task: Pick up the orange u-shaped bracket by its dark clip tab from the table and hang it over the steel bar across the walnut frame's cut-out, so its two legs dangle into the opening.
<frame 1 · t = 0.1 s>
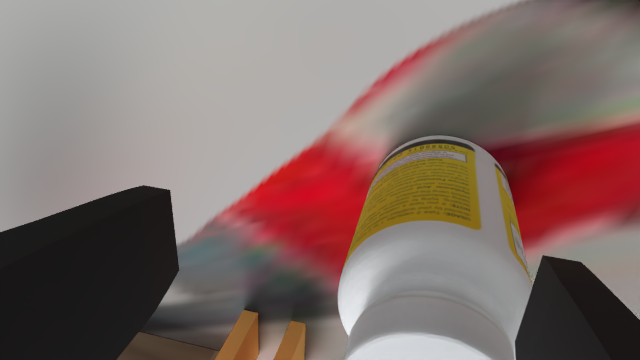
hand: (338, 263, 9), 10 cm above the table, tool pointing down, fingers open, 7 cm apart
orange u-shaped bracket: (274, 337, 25), on the table
supplement bottle: (438, 192, 19), on the table
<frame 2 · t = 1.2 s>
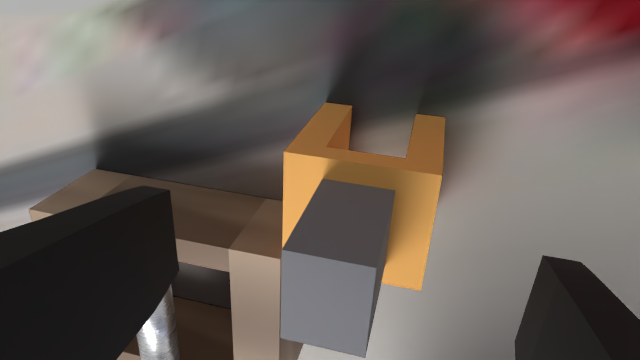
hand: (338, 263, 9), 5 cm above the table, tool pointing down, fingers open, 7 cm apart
rectangular frame: (202, 258, 17), on the table
orange u-shaped bracket: (378, 158, 14), on the table
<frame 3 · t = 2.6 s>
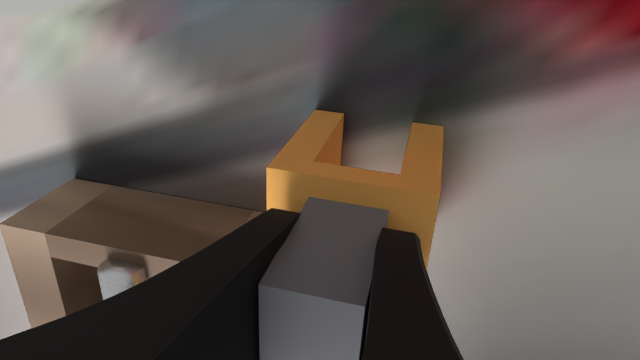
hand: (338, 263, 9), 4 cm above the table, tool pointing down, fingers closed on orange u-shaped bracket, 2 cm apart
rectangular frame: (188, 272, 16), on the table
orange u-shaped bracket: (372, 169, 13), on the table, touching gripper
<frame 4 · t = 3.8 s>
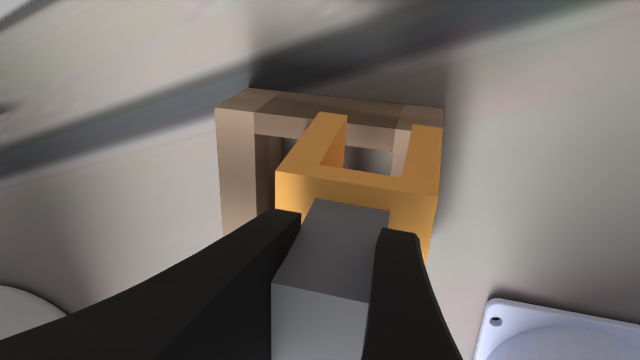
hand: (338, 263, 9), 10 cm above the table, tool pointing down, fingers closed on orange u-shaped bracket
rectangular frame: (337, 166, 20), on the table
orange u-shaped bracket: (374, 168, 14), point 5 cm above the table, touching gripper
cylinder vase: (40, 352, 32), on the table
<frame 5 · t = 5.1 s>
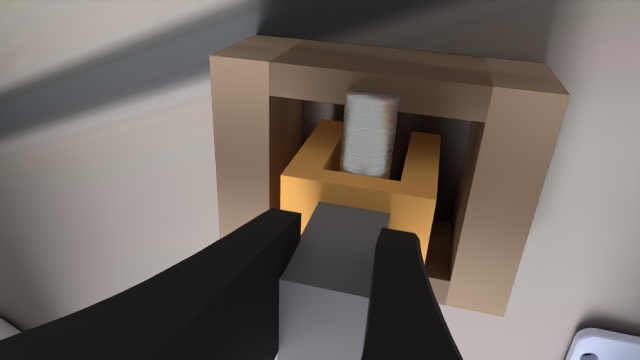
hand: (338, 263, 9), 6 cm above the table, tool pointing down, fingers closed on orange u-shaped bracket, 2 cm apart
rectangular frame: (379, 147, 14), on the table
orange u-shaped bracket: (374, 173, 14), point 1 cm above the table, touching gripper
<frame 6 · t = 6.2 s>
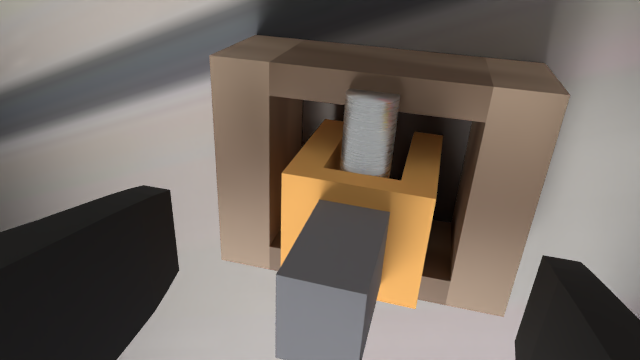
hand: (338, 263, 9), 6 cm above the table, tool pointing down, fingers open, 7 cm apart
rectangular frame: (380, 147, 14), on the table
orange u-shaped bracket: (377, 173, 14), point 1 cm above the table, touching rectangular frame
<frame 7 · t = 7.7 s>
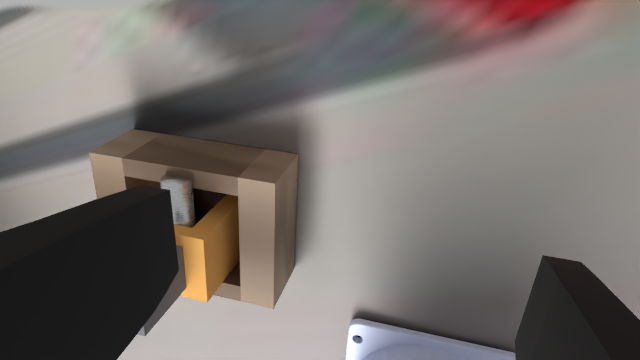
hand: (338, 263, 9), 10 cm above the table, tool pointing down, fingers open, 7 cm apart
rectangular frame: (215, 200, 22), on the table
orange u-shaped bracket: (211, 217, 22), point 1 cm above the table, touching rectangular frame
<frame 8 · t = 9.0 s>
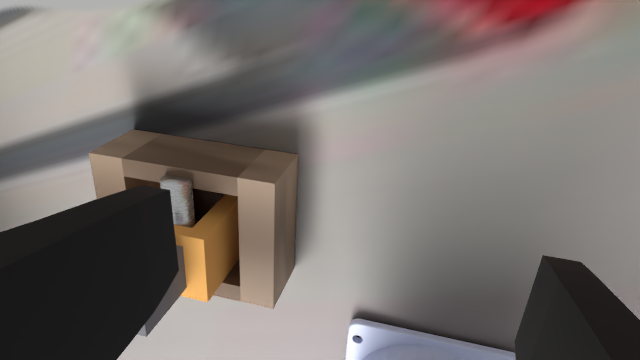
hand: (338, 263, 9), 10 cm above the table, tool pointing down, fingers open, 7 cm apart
rectangular frame: (215, 200, 22), on the table
orange u-shaped bracket: (210, 217, 22), point 1 cm above the table, touching rectangular frame
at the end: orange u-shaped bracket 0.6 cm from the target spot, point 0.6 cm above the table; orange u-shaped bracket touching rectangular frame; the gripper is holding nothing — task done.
